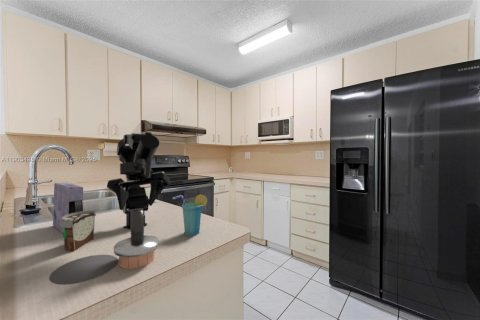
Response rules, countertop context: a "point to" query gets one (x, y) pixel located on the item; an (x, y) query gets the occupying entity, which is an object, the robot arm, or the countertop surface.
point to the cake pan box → (66, 201)
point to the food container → (78, 229)
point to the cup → (192, 214)
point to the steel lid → (136, 238)
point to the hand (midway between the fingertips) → (135, 207)
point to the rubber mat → (83, 269)
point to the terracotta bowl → (136, 260)
